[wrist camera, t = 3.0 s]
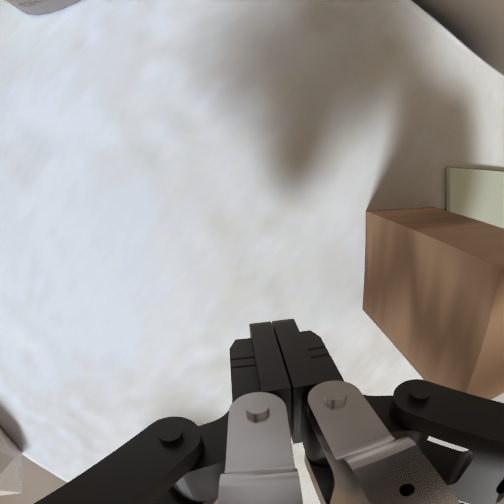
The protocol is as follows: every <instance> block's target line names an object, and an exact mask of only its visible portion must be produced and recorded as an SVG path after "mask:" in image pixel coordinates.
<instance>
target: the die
mask: <svg viewBox="0 0 504 504" xmlns="http://www.w3.org/2000/svg"><path fill="white" fill-rule="evenodd" d="M16 493H22V452H21V451H20V450H19V449H18V448H17V447H16V445H15V444H14V443H13V442H12V441H11V440H10V439H9V437H8V436H7V435H6V434H5V433H4V431H3V430H2V429H1V428H0V495H7V494H16Z"/></svg>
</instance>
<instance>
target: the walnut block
mask: <svg viewBox="0 0 504 504" xmlns="http://www.w3.org/2000/svg"><path fill="white" fill-rule="evenodd" d="M363 310H364V311H365V313H366V314H367V315H368V316H369V317H370V318H371V319H372V320H373V322H374V323H375V324H376V325H377V326H378V327H379V328H380V329H381V331H382V332H383V333H384V334H385V335H386V336H387V337H388V338H389V340H390V341H391V342H392V343H393V344H394V345H395V346H396V348H397V349H398V350H399V351H400V352H401V353H402V355H403V356H404V357H405V358H406V359H407V360H408V362H409V363H410V364H411V365H412V366H413V367H414V369H415V370H416V371H417V372H418V373H419V374H420V376H421V377H422V378H423V379H424V380H425V381H429V382H432V383H435V384H439V385H442V386H445V387H448V388H452V389H455V390H458V391H462V392H465V393H468V394H472V395H475V396H479V397H482V398H486V399H490V400H491V399H493V398H495V397H497V396H498V395H500V394H502V393H503V392H504V229H503V228H500V227H497V226H494V225H491V224H488V223H485V222H482V221H479V220H476V219H472V218H469V217H466V216H463V215H459V214H456V213H452V212H449V211H446V210H442V209H438V208H435V207H432V208H412V209H394V210H378V211H366V246H365V276H364V295H363Z"/></svg>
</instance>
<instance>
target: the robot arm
mask: <svg viewBox="0 0 504 504" xmlns="http://www.w3.org/2000/svg"><path fill="white" fill-rule="evenodd" d="M5 1H7V2H8V3H10V4H11V5H13V6H14V7H16V8H18V9H19V10H21V11H22V12H25V13H27V14H30V15H42V14H49V13H52V12H55V11H58V10H62V9H64V8H66V7H68V6H70V5H72V4H74V3H76V2H78V1H80V0H5ZM250 337H251V338H248V339H238V340H235V341H234V343H233V345H232V346H231V348H230V364H231V382H232V399H233V400H232V404H231V406H230V408H229V411H228V412H227V413H226V414H225V415H224V416H223V417H221V418H220V419H218V420H216V421H213V422H211V423H207V424H204V425H201V426H197V425H196V424H195V423H194V422H192V421H191V420H189V419H186V418H183V417H167V418H163V419H160V420H158V421H156V422H154V423H152V424H151V425H150V426H148V427H147V428H146V429H144V430H143V431H142V432H140V433H139V434H138V435H136V436H135V437H133V438H132V439H131V440H129V441H128V442H127V443H125V444H124V445H122V446H121V447H120V448H118V449H117V450H115V451H114V452H113V453H111V454H110V455H108V456H107V457H105V458H104V459H103V460H101V461H100V462H98V463H97V464H95V465H94V466H92V467H91V468H89V469H88V470H86V471H85V472H83V473H82V474H80V475H79V476H77V477H76V478H74V479H73V480H71V481H70V482H68V483H67V484H65V485H64V486H62V487H61V488H59V489H57V490H56V491H54V492H52V493H51V494H49V495H48V496H46V497H44V498H43V499H41V500H39V501H38V502H36V503H34V504H214V503H215V501H216V500H217V498H218V504H303V500H302V493H301V486H300V480H299V474H298V470H297V468H296V469H295V464H294V458H293V451H292V444H291V436H292V440H293V444H294V443H300V442H303V446H304V449H305V458H304V460H305V465H306V467H307V470H308V472H309V475H310V478H311V480H312V483H313V485H314V488H315V490H316V493H317V495H318V498H319V500H320V503H321V504H464V503H460V502H459V501H458V500H460V501H463V502H466V503H470V504H504V403H501V402H496V401H493V400H490V399H486V398H482V397H479V396H475V395H472V394H468V393H465V392H462V391H458V390H455V389H452V388H448V387H445V386H442V385H439V384H435V383H432V382H429V381H425V380H418V379H415V380H409V381H405V382H403V383H401V384H400V385H399V386H398V387H397V388H396V389H395V391H394V394H393V396H367V395H363V394H362V393H361V392H360V390H359V389H358V388H357V387H356V386H354V385H352V384H350V383H348V382H344V380H343V378H342V376H341V374H340V373H339V371H338V369H337V367H336V365H335V363H334V361H333V360H332V358H331V356H330V355H329V352H328V350H327V348H325V345H324V343H323V341H322V339H321V337H319V336H318V335H316V334H315V333H313V332H312V331H303V332H299V329H298V327H297V325H296V323H295V321H294V319H287V320H279V321H272V324H271V322H262V323H253V324H250ZM429 436H431V437H434V438H437V439H439V440H442V441H445V442H448V443H451V444H455V445H458V446H461V447H464V448H467V449H469V450H468V451H464V452H462V451H457V450H454V449H451V448H448V447H445V446H442V445H439V444H436V443H433V442H430V441H428V440H427V439H428V437H429Z"/></svg>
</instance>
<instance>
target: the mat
mask: <svg viewBox="0 0 504 504" xmlns="http://www.w3.org/2000/svg"><path fill="white" fill-rule="evenodd" d="M446 211H449V212H452V213H456V214H459V215H463V216H466V217H469V218H472V219H476V220H479V221H482V222H485V223H488V224H491V225H494V226H497V227H500V228H503V229H504V172H502V171H490V170H478V169H463V168H446Z"/></svg>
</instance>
